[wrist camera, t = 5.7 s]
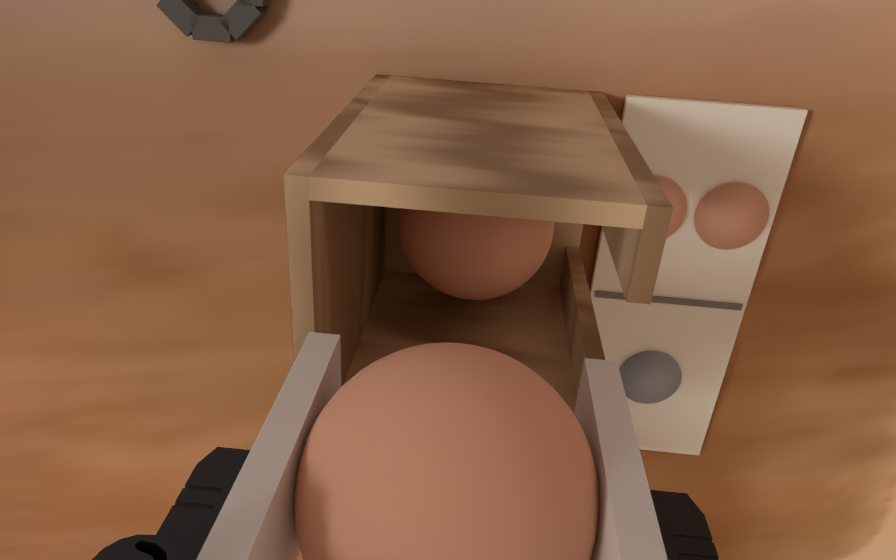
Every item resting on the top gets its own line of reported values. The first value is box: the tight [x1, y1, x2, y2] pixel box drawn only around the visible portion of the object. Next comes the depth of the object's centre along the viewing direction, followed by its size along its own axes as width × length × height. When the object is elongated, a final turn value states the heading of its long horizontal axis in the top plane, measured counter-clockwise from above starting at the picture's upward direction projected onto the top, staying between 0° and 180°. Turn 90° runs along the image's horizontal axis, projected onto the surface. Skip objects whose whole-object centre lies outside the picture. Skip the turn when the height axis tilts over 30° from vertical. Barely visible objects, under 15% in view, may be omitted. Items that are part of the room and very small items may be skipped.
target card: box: [590, 94, 808, 455], centre depth 30 cm, size 7×18×1 cm, turn 176°
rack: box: [283, 75, 673, 413], centre depth 25 cm, size 9×18×13 cm, turn 176°
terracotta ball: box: [399, 208, 554, 300], centre depth 26 cm, size 6×6×6 cm
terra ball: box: [294, 342, 599, 560], centre depth 13 cm, size 6×6×6 cm
